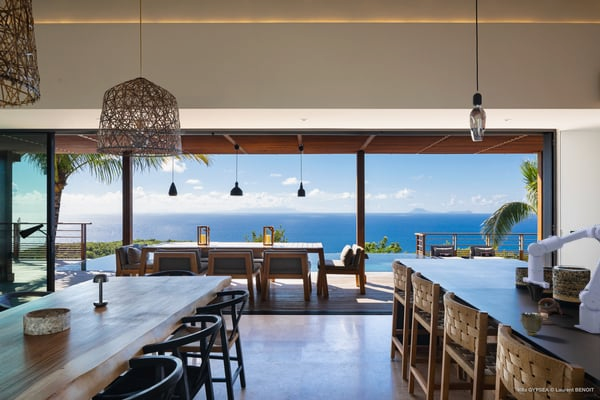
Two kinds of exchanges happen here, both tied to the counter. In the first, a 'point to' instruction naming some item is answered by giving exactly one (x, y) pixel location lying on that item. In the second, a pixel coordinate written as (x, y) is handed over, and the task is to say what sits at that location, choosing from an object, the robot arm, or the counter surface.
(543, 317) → the terracotta button
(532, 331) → the cup
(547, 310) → the pottery mug
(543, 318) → the button panel
